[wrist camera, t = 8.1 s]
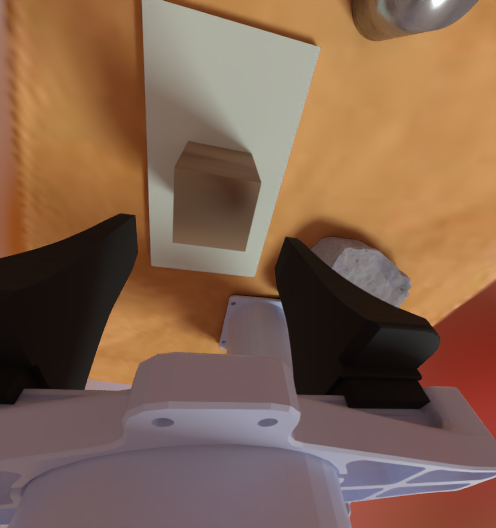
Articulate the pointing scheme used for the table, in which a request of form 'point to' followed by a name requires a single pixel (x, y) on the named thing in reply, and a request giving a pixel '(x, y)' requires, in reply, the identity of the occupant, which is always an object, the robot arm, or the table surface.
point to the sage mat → (218, 116)
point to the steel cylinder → (405, 16)
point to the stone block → (364, 268)
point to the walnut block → (214, 197)
